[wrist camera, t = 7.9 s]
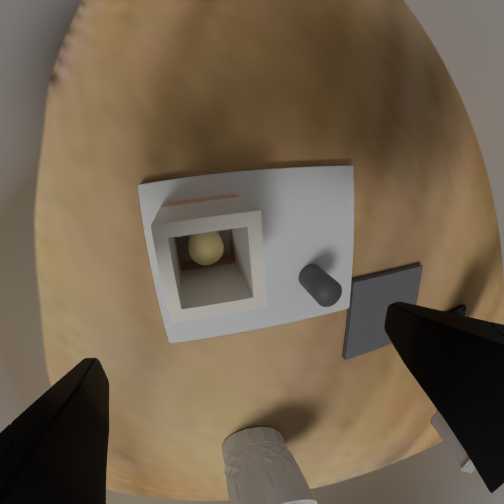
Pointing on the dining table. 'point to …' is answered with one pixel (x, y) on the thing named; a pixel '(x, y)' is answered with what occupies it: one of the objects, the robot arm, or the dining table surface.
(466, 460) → the coffee cup
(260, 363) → the dining table surface
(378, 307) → the mat
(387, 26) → the dining table surface
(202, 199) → the sleeve
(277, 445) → the white cup
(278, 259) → the pin board
